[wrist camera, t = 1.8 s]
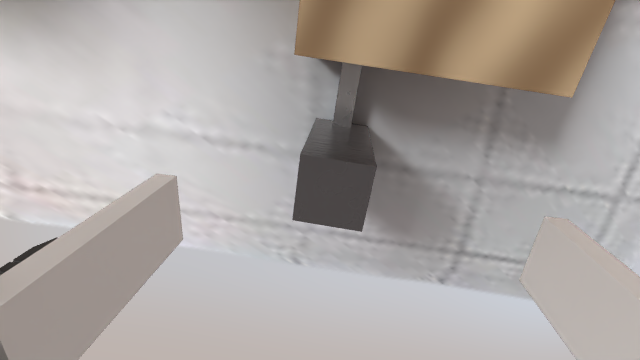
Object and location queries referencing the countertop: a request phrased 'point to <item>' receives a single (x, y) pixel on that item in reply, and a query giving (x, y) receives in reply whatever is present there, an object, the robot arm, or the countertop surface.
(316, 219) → the tool
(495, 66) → the shelf
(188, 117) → the countertop surface
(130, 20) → the countertop surface
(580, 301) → the robot arm
